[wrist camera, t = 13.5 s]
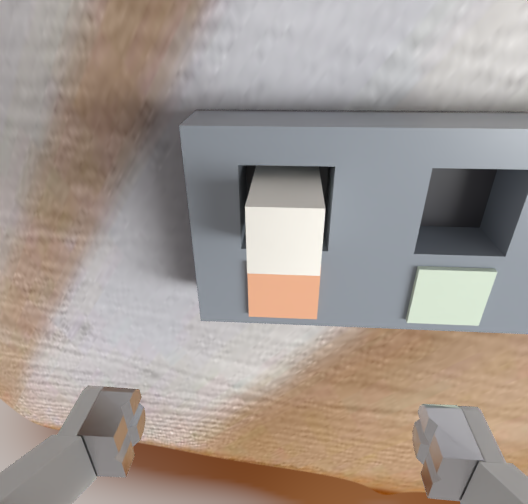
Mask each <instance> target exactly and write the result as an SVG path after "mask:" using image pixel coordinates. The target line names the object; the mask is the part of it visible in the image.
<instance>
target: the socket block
mask: <svg viewBox="0 0 528 504" xmlns="http://www.w3.org/2000/svg"><path fill="white" fill-rule="evenodd" d="M179 130H180V139H181V148H182V157H183V166H184V174H185V183H186V192H187V201H188V210H189V219H190V228H191V237H192V246H193V254H194V263H195V272H196V281H197V290H198V299H199V308H200V317H201V321H220V322H244V323H269V324H293V325H318V326H342V327H367V328H391V329H416V330H440V331H465V332H489V333H514V334H528V112H438V111H297V110H196V111H195V112H193V113H192V114H191V115H190V116H189V117H188V118H187V119H186V120H185V121H184V122H182V123H181V124H180V125H179ZM256 165H265V166H319V171H320V178H321V184H322V190H323V196H324V203H325V221H324V233H323V245H322V258H321V270H320V276H308V275H279V274H249V273H247V254H246V223H245V205H246V201H247V197H248V194H249V190H250V186H251V183H252V179H253V175H254V172H255V168H256Z"/></svg>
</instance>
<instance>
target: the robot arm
mask: <svg viewBox="0 0 528 504" xmlns="http://www.w3.org/2000/svg"><path fill="white" fill-rule="evenodd" d="M140 400H141V394H140V390H139V389H128V388H115V387H103V386H87V387H86V388H85V389H84V390H83V391H82V393H81V394H80V396H79V398H78V400H77V401H76V403H75V405H74V407H73V408H72V410H71V412H70V413H69V415H68V417H67V419H66V420H65V422H64V424H63V426H62V427H61V429H60V431H59V433H58V434H57V435H51V436H50V437H48V438H47V439H46V440H44V441H43V442H42V443H40V444H39V445H37V446H36V447H35V448H33V449H32V450H31V451H29V452H28V453H26V454H25V455H24V456H23V457H21V458H20V459H19V460H17V461H16V462H15V463H13V464H12V465H10V466H9V467H8V468H6V469H5V470H3V471H2V472H1V473H0V504H72V503H73V502H74V501H75V500H76V499H77V498H78V497H79V496H80V495H81V494H82V493H83V492H84V491H85V490H86V489H87V488H88V487H89V486H90V485H91V484H92V483H93V482H94V481H95V480H96V479H97V477H96V476H105V477H127V474H128V472H129V469H130V466H131V463H132V461H133V458H134V456H135V454H134V450H133V446H134V445H135V444H136V443H138V442H139V441H140V439H141V436H142V434H143V431H144V425H145V410H144V407H143V406H142V405H141V404H140V403H139V402H140ZM418 415H419V418H420V419H419V420H418V421H416V422H415V423H414V427H413V446H414V451H415V455H416V458H417V459H418V460H419V461H420V462H421V463H422V464H423V468H422V471H421V476H422V480H423V483H424V487H425V491H426V494H427V498H433V499H443V500H453V501H461V502H460V504H528V477H527V476H526V475H525V474H524V473H523V472H522V471H520V470H519V469H518V468H517V467H516V466H515V465H513V464H512V463H506V461H505V459H504V457H503V455H502V453H501V451H500V449H499V446H498V444H497V442H496V440H495V438H494V436H493V434H492V432H491V430H490V428H489V426H488V424H487V422H486V420H485V418H484V415H483V413H482V411H481V410H480V409H479V408H478V407H470V406H457V405H434V404H422V405H421V406H420V407H419V410H418Z"/></svg>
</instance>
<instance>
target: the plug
mask: <svg viewBox="0 0 528 504" xmlns="http://www.w3.org/2000/svg"><path fill="white" fill-rule="evenodd" d="M324 221H325V203H324V196H323V190H322V184H321V178H320V171H319V166H265V165H256V168H255V172H254V175H253V179H252V183H251V186H250V190H249V194H248V197H247V201H246V205H245V223H246V254H247V273H249V274H279V275H308V276H320V270H321V258H322V245H323V233H324Z"/></svg>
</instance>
